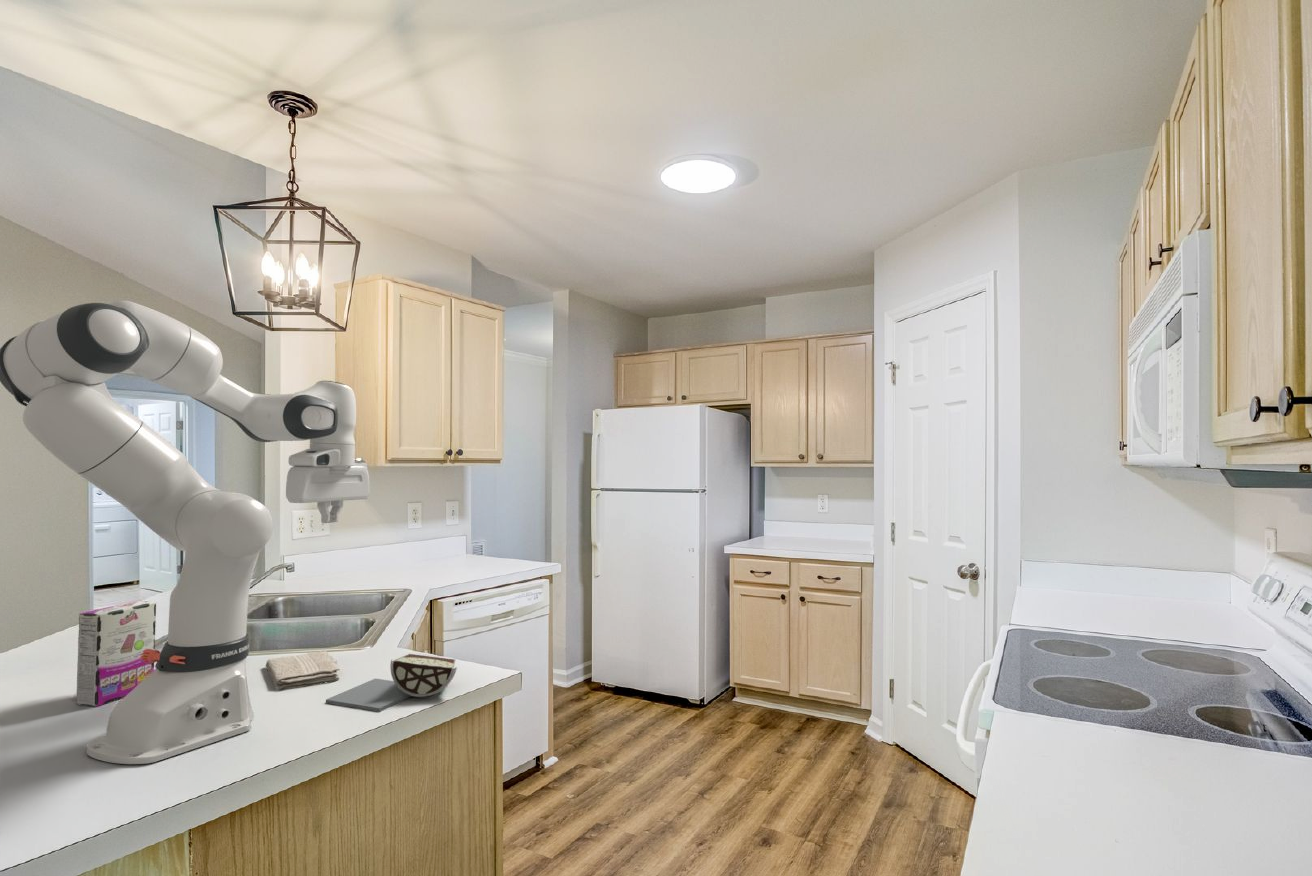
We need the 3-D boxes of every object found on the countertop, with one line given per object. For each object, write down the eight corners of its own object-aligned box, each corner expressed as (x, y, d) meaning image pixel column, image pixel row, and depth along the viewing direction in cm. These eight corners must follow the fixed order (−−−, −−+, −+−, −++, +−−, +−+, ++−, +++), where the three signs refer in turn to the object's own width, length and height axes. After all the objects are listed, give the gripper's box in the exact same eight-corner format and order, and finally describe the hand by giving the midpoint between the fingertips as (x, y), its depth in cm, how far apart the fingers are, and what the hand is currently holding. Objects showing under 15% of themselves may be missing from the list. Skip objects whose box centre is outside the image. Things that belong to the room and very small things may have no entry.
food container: (394, 684, 135) (381, 695, 125) (401, 652, 136) (388, 661, 126) (457, 691, 136) (448, 703, 126) (463, 660, 137) (455, 669, 127)
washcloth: (276, 694, 129) (277, 677, 129) (263, 669, 143) (264, 655, 143) (343, 683, 136) (344, 667, 136) (324, 661, 150) (324, 647, 151)
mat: (379, 711, 120) (379, 708, 120) (325, 702, 124) (325, 699, 124) (425, 688, 132) (425, 685, 132) (375, 681, 136) (375, 678, 136)
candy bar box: (133, 685, 131) (137, 600, 131) (154, 687, 130) (158, 601, 130) (72, 705, 120) (77, 612, 120) (95, 708, 119) (100, 614, 119)
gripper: (355, 458, 155) (353, 518, 154) (281, 456, 135) (278, 525, 135) (378, 458, 153) (375, 519, 152) (306, 457, 133) (303, 527, 133)
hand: (329, 522), depth 144 cm, fingers closed
